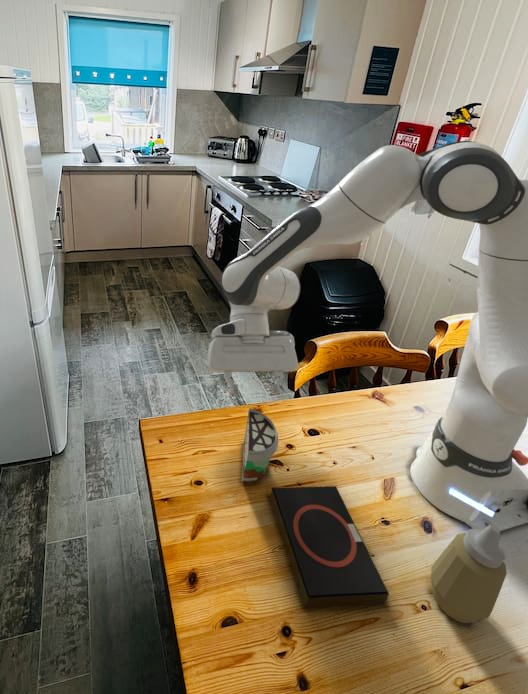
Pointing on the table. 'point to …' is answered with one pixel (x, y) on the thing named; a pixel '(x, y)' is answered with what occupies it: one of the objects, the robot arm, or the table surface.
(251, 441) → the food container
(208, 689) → the table surface
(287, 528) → the hob
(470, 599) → the squeeze bottle
